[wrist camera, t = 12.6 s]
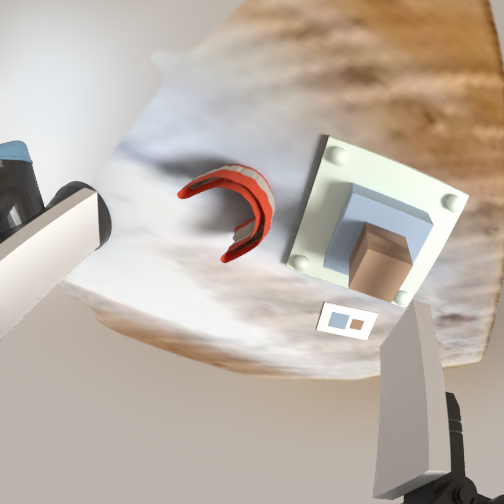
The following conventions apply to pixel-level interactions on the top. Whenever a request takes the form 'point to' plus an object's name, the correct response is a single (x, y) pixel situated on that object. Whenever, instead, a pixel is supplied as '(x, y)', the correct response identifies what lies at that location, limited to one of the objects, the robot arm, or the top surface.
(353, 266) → the walnut block
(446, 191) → the build plate
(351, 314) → the page
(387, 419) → the robot arm
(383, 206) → the base brick
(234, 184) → the toy
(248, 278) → the top surface
